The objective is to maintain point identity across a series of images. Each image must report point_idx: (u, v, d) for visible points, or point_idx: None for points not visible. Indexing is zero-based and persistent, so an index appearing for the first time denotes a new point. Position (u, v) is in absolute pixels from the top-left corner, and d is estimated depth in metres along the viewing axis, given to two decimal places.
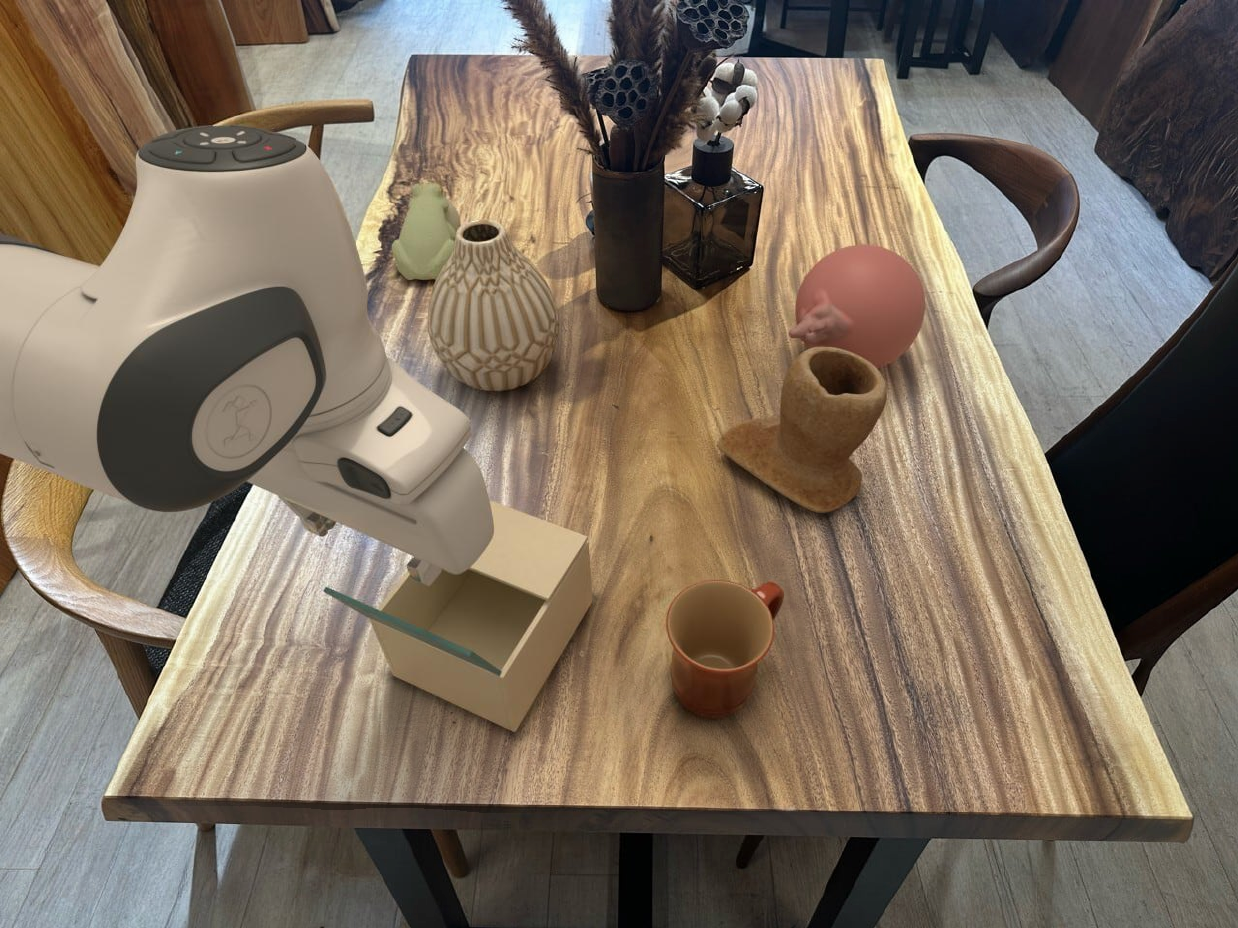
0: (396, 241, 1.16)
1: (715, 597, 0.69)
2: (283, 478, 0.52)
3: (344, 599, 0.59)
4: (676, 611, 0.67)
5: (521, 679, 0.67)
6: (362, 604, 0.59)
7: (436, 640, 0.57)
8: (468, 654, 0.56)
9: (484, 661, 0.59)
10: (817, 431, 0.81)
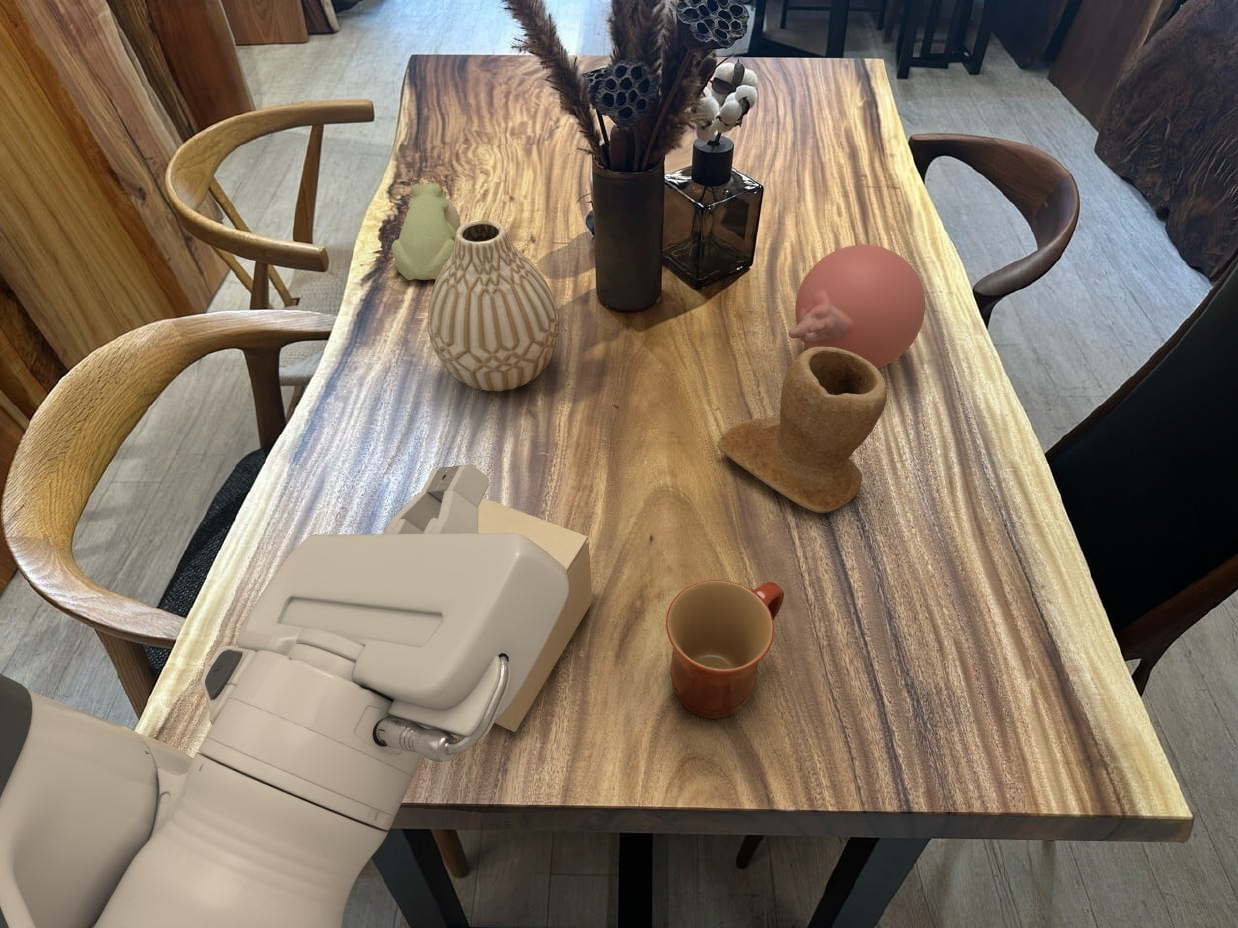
0: (396, 241, 1.16)
1: (715, 597, 0.69)
2: (410, 584, 0.35)
3: None
4: (676, 611, 0.67)
5: None
6: None
7: None
8: None
9: None
10: (817, 431, 0.81)
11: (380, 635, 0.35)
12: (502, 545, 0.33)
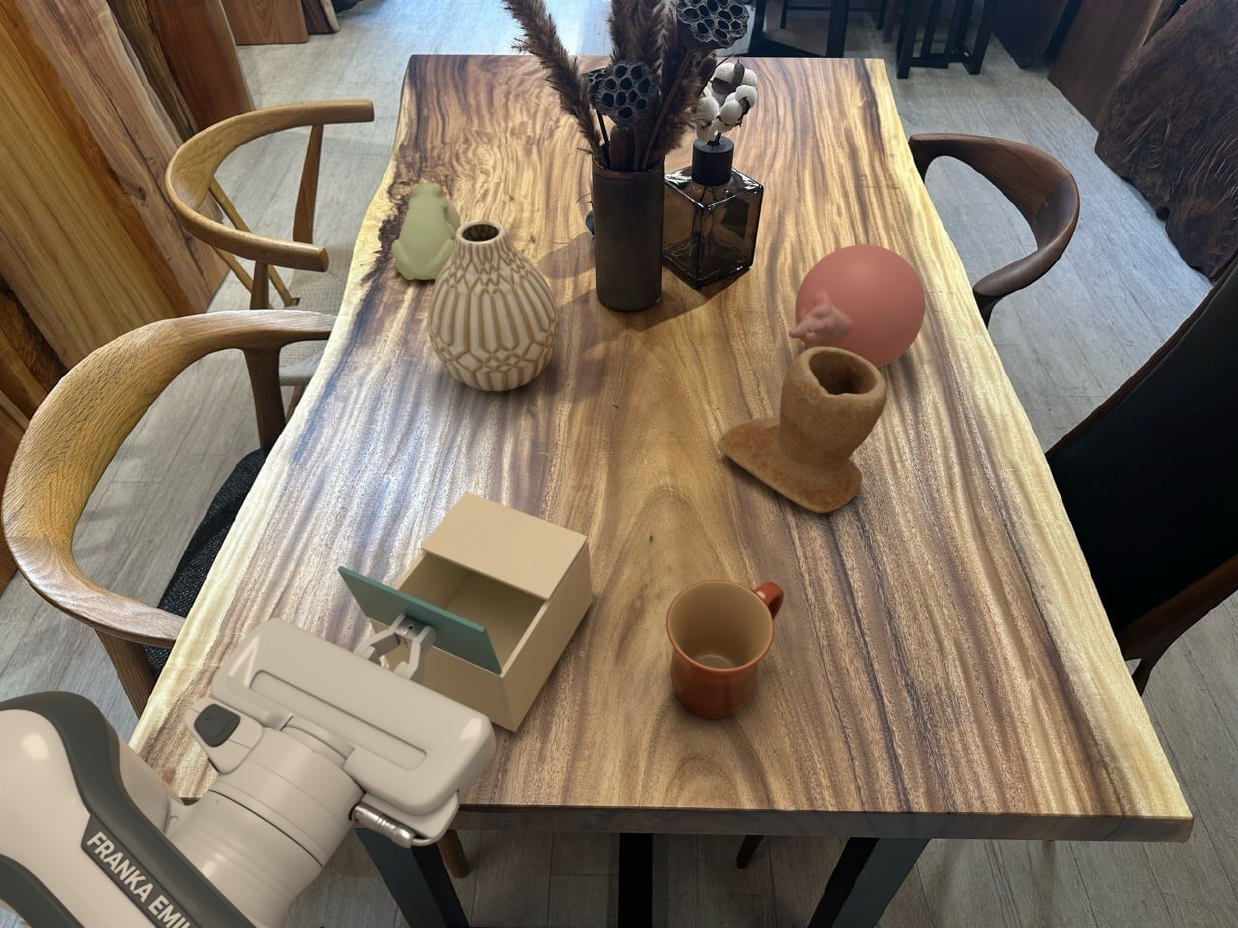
0: (396, 241, 1.16)
1: (715, 597, 0.69)
2: (395, 716, 0.54)
3: (358, 577, 0.60)
4: (676, 611, 0.67)
5: (521, 679, 0.67)
6: (376, 582, 0.60)
7: (449, 617, 0.58)
8: (481, 630, 0.57)
9: (492, 647, 0.59)
10: (817, 431, 0.81)
11: (365, 744, 0.53)
12: (476, 721, 0.54)
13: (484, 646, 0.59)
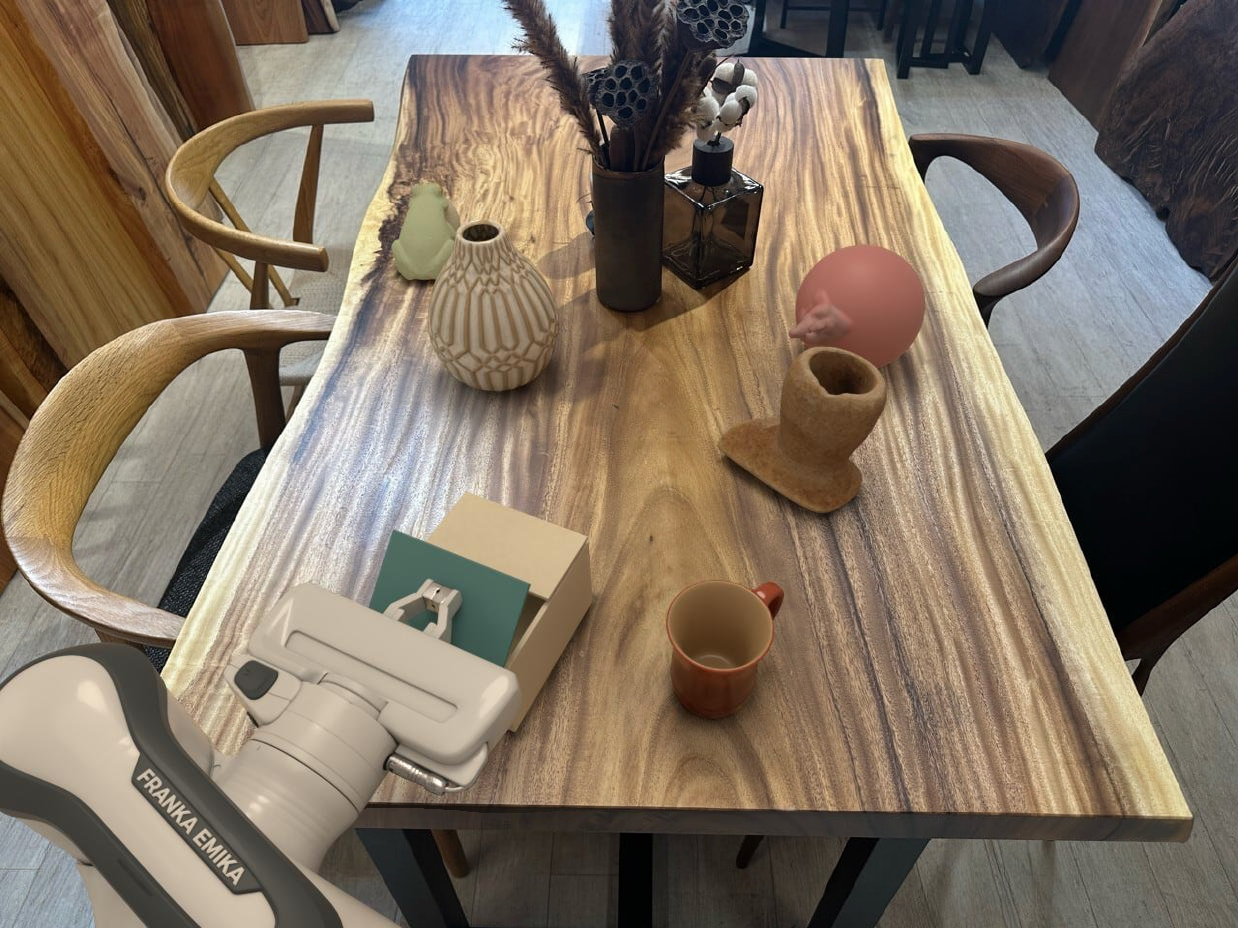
0: (396, 241, 1.16)
1: (715, 597, 0.69)
2: (426, 672, 0.56)
3: (413, 537, 0.66)
4: (676, 611, 0.67)
5: (521, 679, 0.67)
6: (429, 543, 0.65)
7: (498, 572, 0.63)
8: (528, 583, 0.62)
9: (518, 620, 0.63)
10: (817, 431, 0.81)
11: (397, 699, 0.55)
12: (504, 677, 0.56)
13: (514, 614, 0.62)
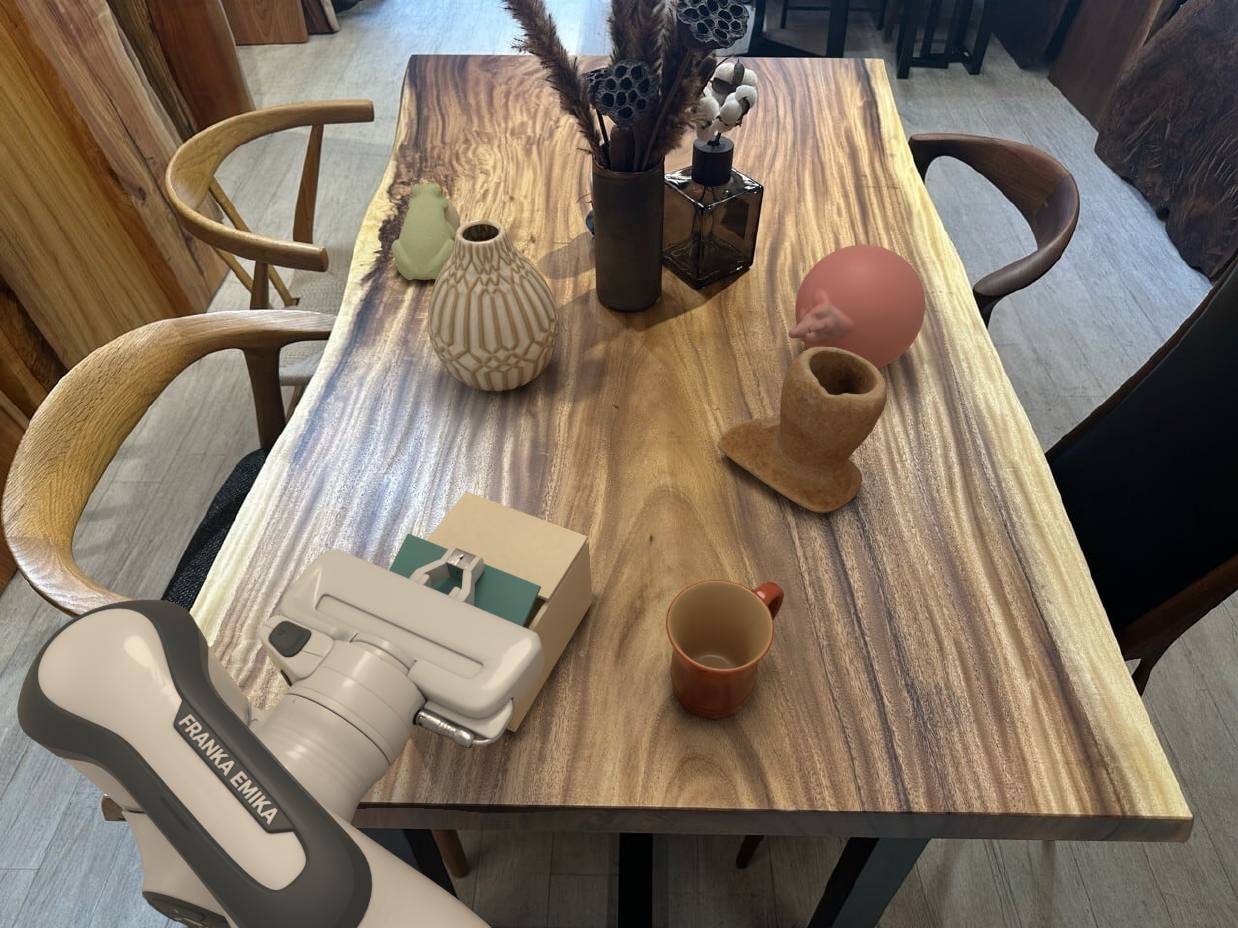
0: (396, 241, 1.16)
1: (715, 597, 0.69)
2: (452, 633, 0.59)
3: None
4: (676, 611, 0.67)
5: None
6: None
7: (510, 574, 0.65)
8: (538, 585, 0.65)
9: (525, 621, 0.64)
10: (817, 431, 0.81)
11: (425, 657, 0.58)
12: (528, 637, 0.58)
13: (522, 614, 0.64)
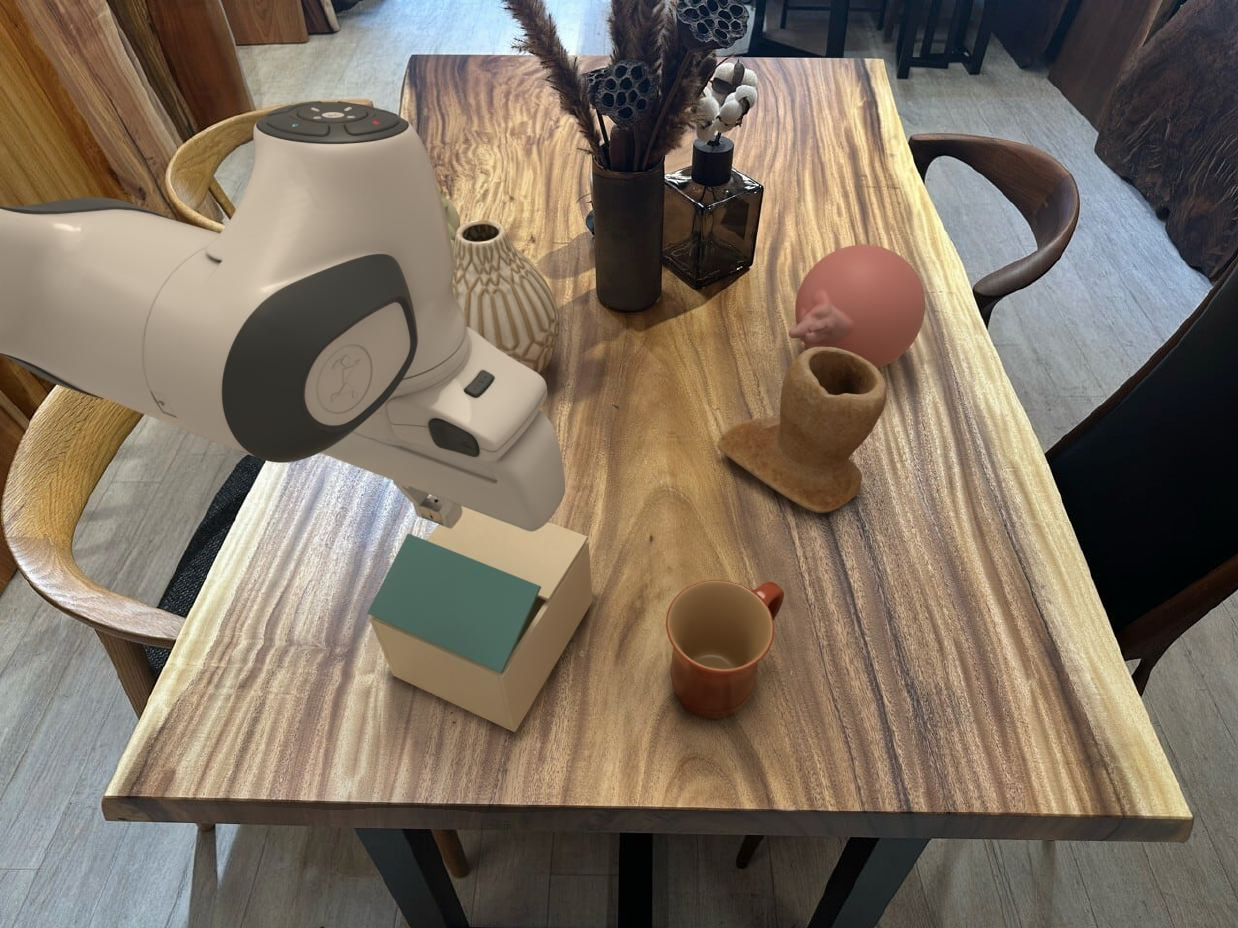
0: None
1: (715, 597, 0.69)
2: (360, 446, 0.54)
3: None
4: (676, 611, 0.67)
5: (521, 679, 0.67)
6: None
7: (510, 574, 0.65)
8: (538, 585, 0.65)
9: (525, 621, 0.64)
10: (817, 431, 0.81)
11: None
12: None
13: (522, 614, 0.64)
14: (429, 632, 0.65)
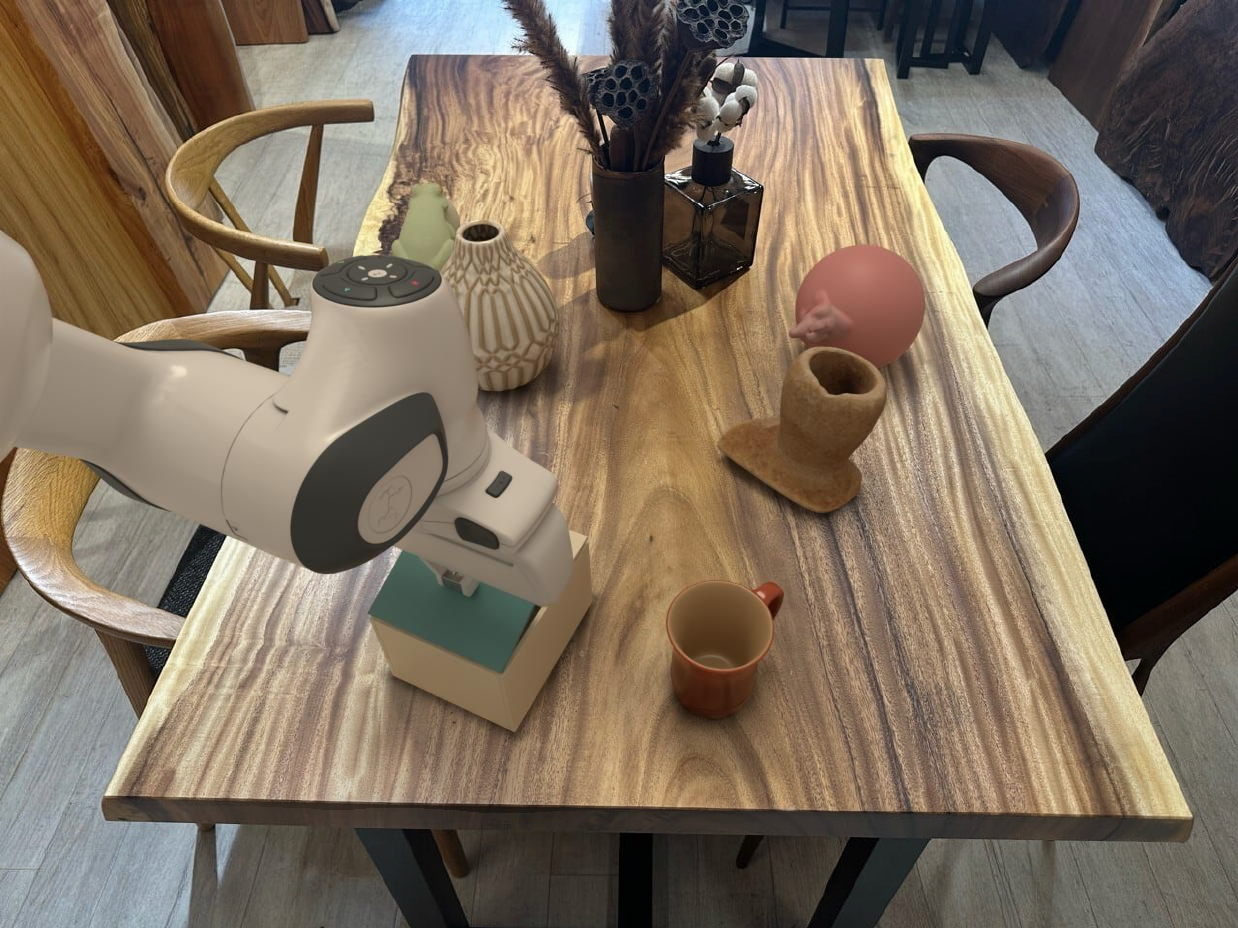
0: (396, 241, 1.16)
1: (715, 597, 0.69)
2: None
3: None
4: (676, 611, 0.67)
5: (521, 679, 0.67)
6: None
7: None
8: None
9: (526, 622, 0.64)
10: (817, 431, 0.81)
11: None
12: None
13: (523, 614, 0.64)
14: (429, 632, 0.65)
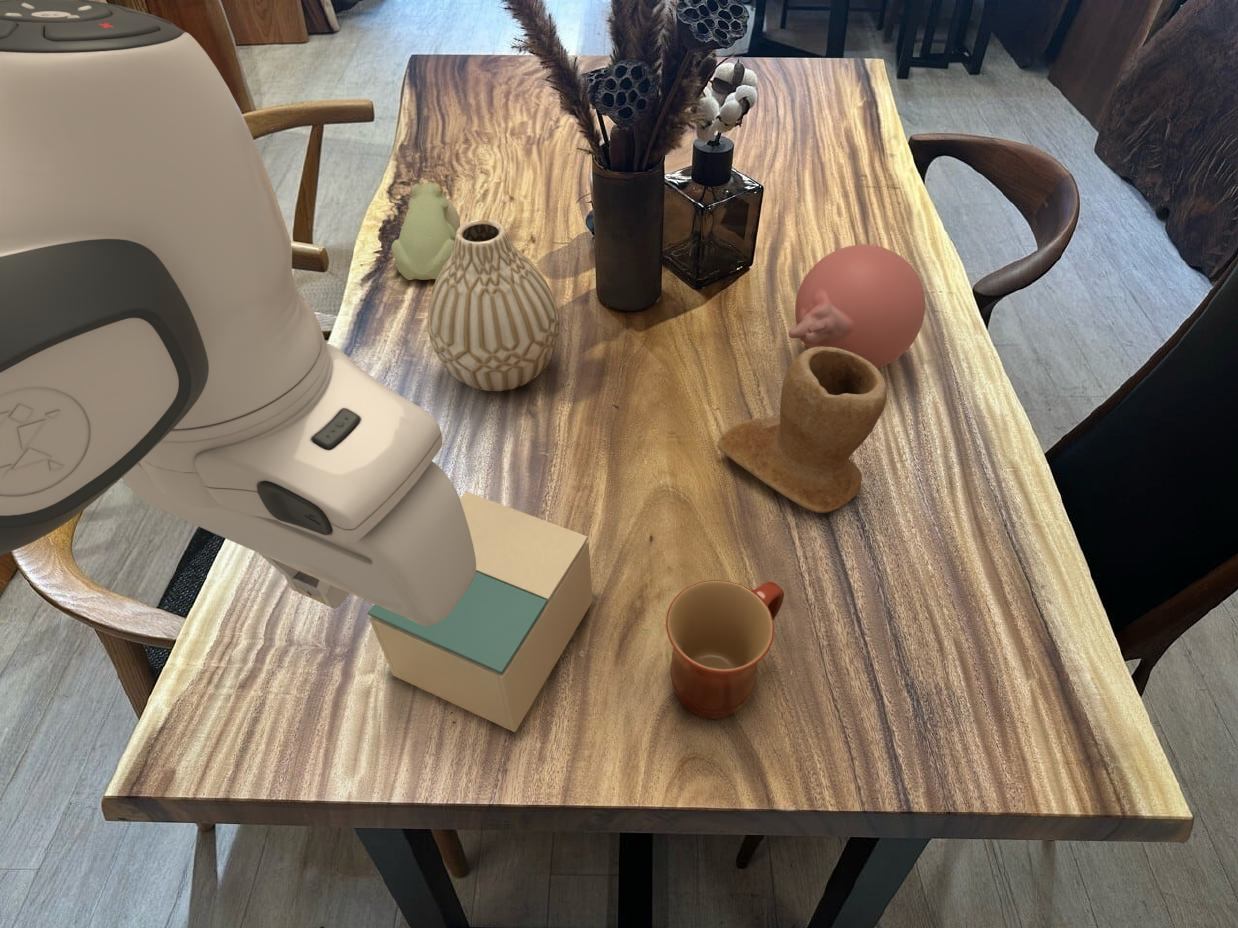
0: (396, 241, 1.16)
1: (715, 597, 0.69)
2: None
3: None
4: (676, 611, 0.67)
5: (521, 679, 0.67)
6: None
7: (518, 589, 0.68)
8: (545, 600, 0.67)
9: (529, 630, 0.65)
10: (817, 431, 0.81)
11: None
12: (141, 498, 0.43)
13: (527, 622, 0.66)
14: (431, 632, 0.65)
